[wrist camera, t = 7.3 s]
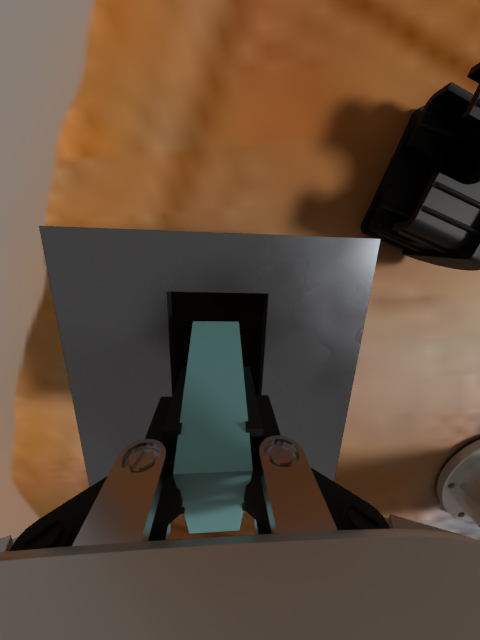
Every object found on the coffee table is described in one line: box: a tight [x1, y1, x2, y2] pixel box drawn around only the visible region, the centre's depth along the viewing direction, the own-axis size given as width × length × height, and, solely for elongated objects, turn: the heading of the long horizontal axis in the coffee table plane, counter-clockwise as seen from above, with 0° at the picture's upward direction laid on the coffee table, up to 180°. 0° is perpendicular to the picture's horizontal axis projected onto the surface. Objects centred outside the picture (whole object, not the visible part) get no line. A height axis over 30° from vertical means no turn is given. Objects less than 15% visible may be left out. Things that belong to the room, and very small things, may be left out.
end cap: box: [361, 63, 480, 270], centre depth 17 cm, size 10×7×7 cm
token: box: [173, 321, 253, 534], centre depth 11 cm, size 2×6×6 cm
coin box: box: [39, 226, 381, 487], centre depth 17 cm, size 14×14×10 cm
